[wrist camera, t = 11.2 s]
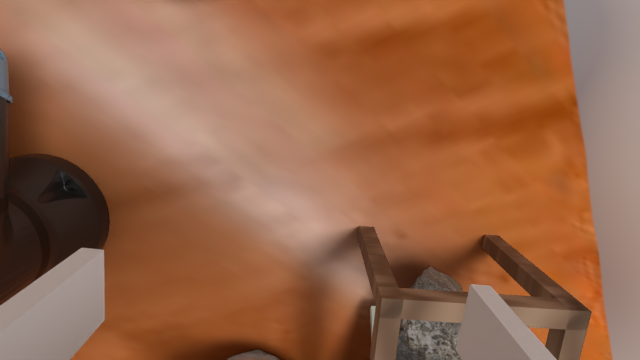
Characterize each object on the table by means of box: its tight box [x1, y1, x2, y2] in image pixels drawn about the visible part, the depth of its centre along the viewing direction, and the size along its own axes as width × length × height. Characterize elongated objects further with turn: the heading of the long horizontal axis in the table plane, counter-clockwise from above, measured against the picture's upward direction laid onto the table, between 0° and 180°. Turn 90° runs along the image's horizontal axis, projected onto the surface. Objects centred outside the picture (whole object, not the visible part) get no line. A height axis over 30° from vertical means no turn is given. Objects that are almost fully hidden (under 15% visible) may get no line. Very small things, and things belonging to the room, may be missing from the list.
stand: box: [358, 226, 591, 360], centre depth 44 cm, size 18×23×18 cm
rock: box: [395, 266, 463, 360], centre depth 45 cm, size 13×9×6 cm
